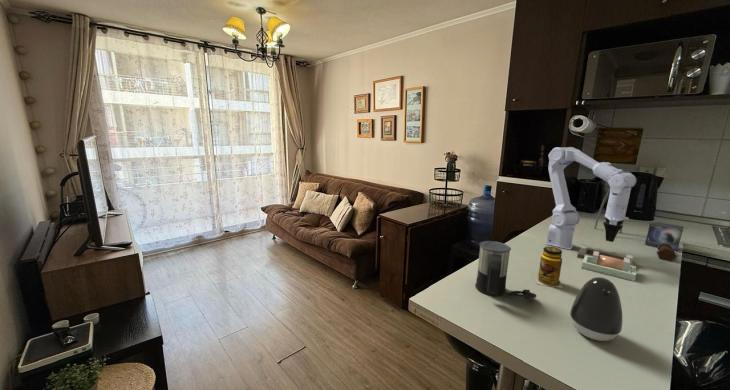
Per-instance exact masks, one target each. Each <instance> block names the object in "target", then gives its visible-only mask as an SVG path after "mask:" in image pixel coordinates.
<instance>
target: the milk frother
mask: <svg viewBox="0 0 730 390" xmlns="http://www.w3.org/2000/svg"><path fill="white" fill-rule="evenodd" d="M511 250H512V247H511V246H509V245H508V244H507V243H503V242H499V241H493V240H484V241H481V242H480V243H479V256H478V263H477V264H478V265H477V276H476V281H475V285H474V286H475V288H476V289H477V290H478V292H480V293H483V294H485V295H489V296H495V297H497V296H498V297H500V296H504V295H505V296H511V297H518V298H522V299H535V298H537V294H536V293H534V292H531V291H530V289H522V290H511V291H509V292H507V288H506V286H507V275H508V267H509V261H510V254H511V253H510V251H511Z"/></svg>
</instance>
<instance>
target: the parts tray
mask: <svg viewBox="0 0 730 390" xmlns="http://www.w3.org/2000/svg"><path fill="white" fill-rule="evenodd" d="M591 262H592V256H587V255H585V257H584V259H582V264H581V269H583V270H584V269H585V270H587V271H592V272H596V273H600V274H604V275H608V276H611V277H614V278H618V279H623V280H628V281H632V282H636V278H637V277H636V276H637V266H634V265H633V266H631V265H629V269H628V272H625V271H621V270H617V269H613V268H609V267H604V266H600V265H596V264H592V263H591Z"/></svg>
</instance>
